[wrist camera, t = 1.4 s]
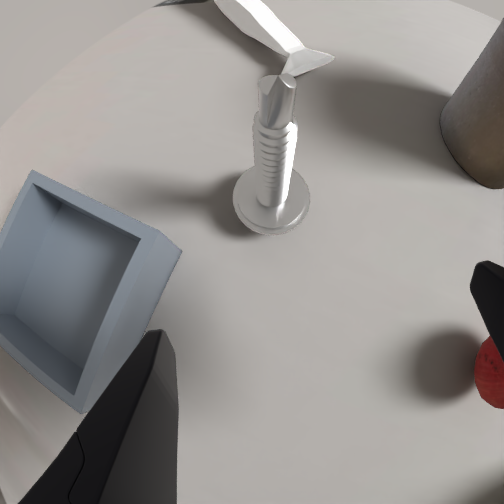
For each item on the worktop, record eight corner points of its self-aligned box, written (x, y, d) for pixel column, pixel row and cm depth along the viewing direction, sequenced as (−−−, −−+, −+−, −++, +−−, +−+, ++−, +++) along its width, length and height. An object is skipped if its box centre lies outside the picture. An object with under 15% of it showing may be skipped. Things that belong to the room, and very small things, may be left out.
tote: (116, 398, 20) (81, 414, 15) (12, 318, 21) (-29, 314, 16) (182, 250, 22) (160, 231, 17) (66, 194, 23) (31, 169, 18)
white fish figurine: (232, -12, 28) (230, -37, 24) (333, 74, 25) (342, 45, 21) (190, 3, 28) (185, -23, 24) (283, 96, 25) (286, 65, 21)
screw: (221, 218, 22) (259, 164, 23) (282, 255, 21) (318, 198, 22) (174, 96, 9) (254, 19, 10) (309, 162, 9) (370, 67, 9)
